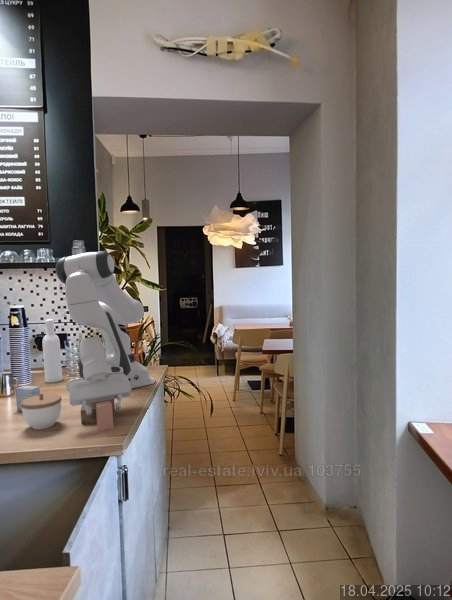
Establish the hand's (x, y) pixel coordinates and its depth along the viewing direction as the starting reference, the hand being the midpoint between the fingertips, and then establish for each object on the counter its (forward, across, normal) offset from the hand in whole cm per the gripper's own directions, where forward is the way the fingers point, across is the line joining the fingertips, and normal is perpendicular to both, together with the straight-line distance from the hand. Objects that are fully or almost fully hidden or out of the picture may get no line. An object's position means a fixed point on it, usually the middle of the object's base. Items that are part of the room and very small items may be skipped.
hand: (104, 411), depth 139 cm
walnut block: (-5, 0, +13) cm, 14 cm away
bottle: (-52, -10, +60) cm, 80 cm away
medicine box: (-22, -22, +30) cm, 43 cm away
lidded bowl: (-6, -18, +14) cm, 24 cm away
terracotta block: (+4, 0, +4) cm, 6 cm away
